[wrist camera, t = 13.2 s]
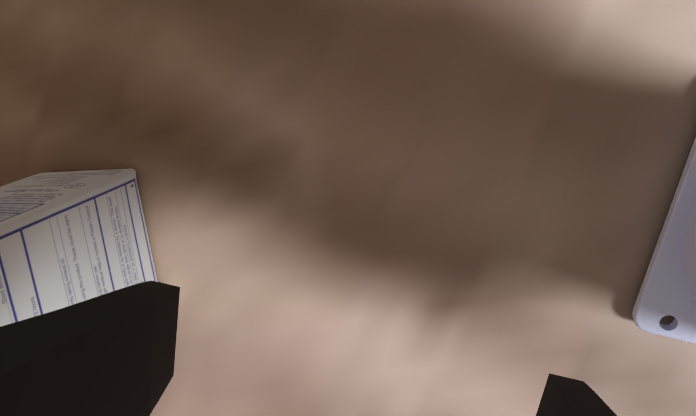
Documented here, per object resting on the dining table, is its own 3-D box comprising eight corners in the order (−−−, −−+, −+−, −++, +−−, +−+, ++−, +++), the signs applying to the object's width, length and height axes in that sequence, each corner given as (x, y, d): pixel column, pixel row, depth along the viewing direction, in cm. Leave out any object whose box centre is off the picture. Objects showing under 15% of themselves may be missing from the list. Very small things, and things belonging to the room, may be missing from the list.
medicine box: (43, 169, 23) (-201, 246, 15) (142, 165, 22) (-64, 246, 14) (85, 347, 25) (-108, 498, 17) (178, 352, 24) (18, 516, 16)
